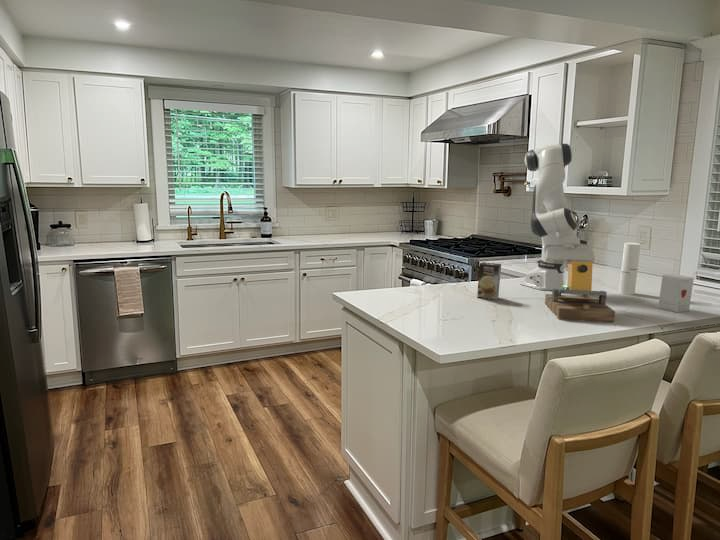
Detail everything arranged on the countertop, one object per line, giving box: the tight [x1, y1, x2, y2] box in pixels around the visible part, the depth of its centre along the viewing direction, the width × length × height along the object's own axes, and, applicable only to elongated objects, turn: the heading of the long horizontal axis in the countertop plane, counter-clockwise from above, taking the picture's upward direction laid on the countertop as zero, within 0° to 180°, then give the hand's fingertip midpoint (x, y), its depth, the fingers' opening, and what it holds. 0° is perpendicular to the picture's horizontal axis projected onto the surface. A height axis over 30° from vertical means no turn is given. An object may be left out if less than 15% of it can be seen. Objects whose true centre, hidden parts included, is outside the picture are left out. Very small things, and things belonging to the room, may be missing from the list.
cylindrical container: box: [618, 242, 642, 296], centre depth 263 cm, size 7×7×25 cm
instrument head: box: [558, 261, 608, 296], centre depth 223 cm, size 18×16×14 cm
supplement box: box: [657, 273, 695, 313], centre depth 233 cm, size 9×9×15 cm
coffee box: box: [476, 261, 502, 300], centre depth 246 cm, size 9×6×16 cm
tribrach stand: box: [544, 289, 616, 323], centre depth 223 cm, size 26×21×10 cm
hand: (570, 270), depth 230 cm, fingers closed
